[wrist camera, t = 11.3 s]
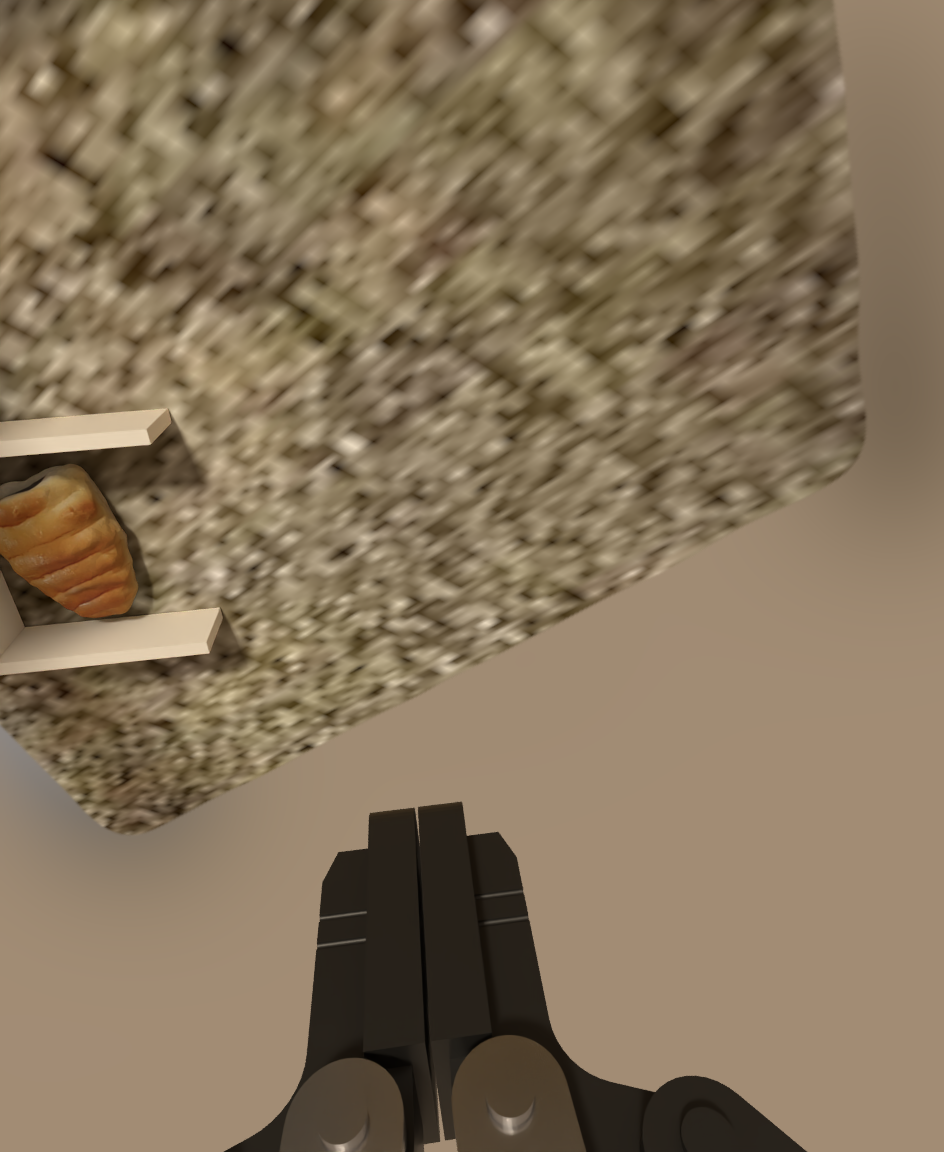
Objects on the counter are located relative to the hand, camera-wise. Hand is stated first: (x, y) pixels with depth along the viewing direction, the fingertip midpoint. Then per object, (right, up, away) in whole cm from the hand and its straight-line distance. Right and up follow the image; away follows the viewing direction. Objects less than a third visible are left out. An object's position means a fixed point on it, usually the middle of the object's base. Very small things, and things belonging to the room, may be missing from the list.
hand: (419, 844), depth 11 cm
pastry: (-23, +7, +30) cm, 39 cm away
